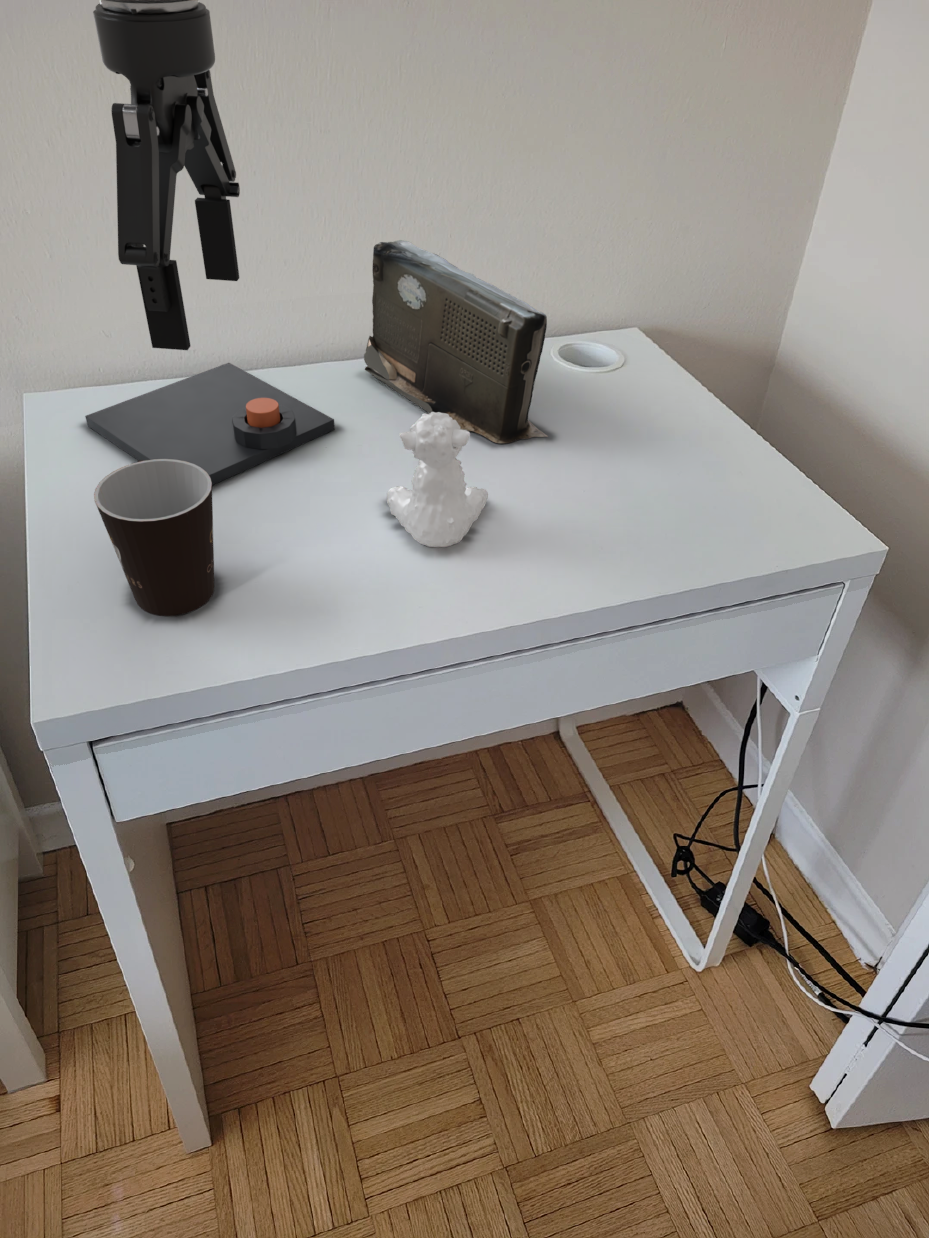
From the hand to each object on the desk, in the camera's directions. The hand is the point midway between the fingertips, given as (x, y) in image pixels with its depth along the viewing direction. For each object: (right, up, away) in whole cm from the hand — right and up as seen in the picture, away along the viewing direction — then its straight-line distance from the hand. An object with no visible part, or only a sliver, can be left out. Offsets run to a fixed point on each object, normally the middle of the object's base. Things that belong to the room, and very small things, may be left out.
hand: (199, 311), depth 77 cm
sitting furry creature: (+19, -17, +10) cm, 27 cm away
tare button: (+1, -5, +18) cm, 19 cm away
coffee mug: (-2, -22, +3) cm, 22 cm away
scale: (-5, -5, +22) cm, 23 cm away
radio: (+20, -1, +29) cm, 35 cm away
